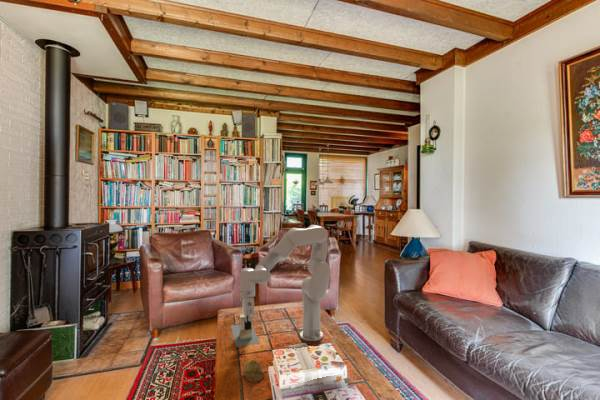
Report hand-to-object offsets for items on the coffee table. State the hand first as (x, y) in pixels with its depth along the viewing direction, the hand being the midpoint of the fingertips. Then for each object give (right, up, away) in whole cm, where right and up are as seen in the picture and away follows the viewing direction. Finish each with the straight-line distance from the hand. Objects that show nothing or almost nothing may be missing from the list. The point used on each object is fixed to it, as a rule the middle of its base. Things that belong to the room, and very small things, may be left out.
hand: (247, 328), depth 147 cm
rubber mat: (-4, -8, +11) cm, 14 cm away
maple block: (-3, -8, +7) cm, 11 cm away
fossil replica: (+24, -8, -15) cm, 30 cm away
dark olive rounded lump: (+7, -8, -26) cm, 28 cm away
